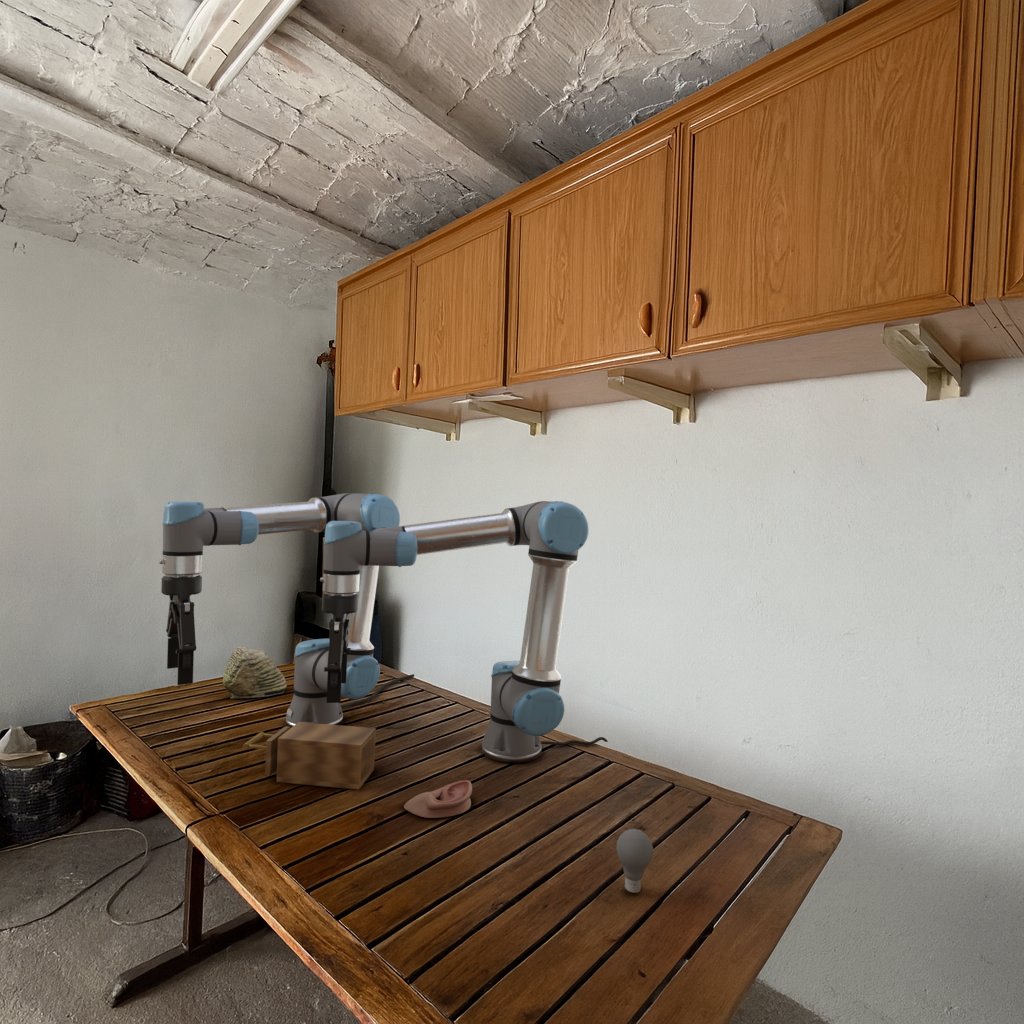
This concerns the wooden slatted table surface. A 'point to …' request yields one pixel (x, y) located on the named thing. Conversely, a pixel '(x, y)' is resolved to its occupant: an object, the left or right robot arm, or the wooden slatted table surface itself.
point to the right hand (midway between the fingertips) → (336, 692)
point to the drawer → (268, 748)
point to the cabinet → (326, 755)
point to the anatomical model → (442, 801)
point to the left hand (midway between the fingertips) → (179, 675)
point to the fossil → (252, 674)
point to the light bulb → (634, 857)
